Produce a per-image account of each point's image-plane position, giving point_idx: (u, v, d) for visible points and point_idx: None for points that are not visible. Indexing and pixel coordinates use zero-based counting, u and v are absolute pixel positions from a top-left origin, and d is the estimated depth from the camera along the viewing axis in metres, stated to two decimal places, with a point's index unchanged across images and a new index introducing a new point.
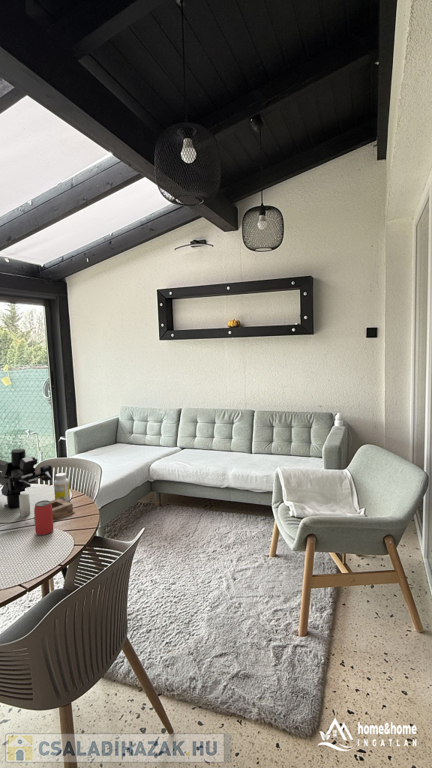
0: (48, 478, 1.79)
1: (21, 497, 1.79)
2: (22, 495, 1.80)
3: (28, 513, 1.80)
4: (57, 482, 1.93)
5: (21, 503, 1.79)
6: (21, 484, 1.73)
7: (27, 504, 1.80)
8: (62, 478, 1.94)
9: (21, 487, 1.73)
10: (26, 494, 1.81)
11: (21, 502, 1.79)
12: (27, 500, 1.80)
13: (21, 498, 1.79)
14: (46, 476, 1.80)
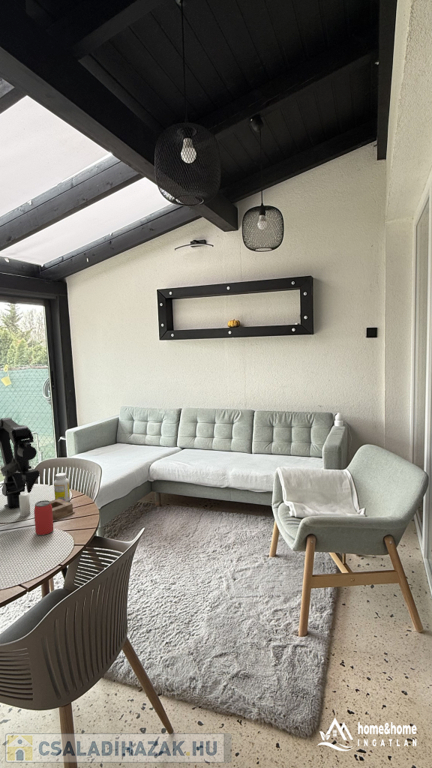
0: None
1: (21, 497, 1.79)
2: (22, 495, 1.80)
3: (28, 513, 1.80)
4: (57, 482, 1.93)
5: (21, 503, 1.79)
6: None
7: (27, 504, 1.80)
8: (62, 478, 1.94)
9: None
10: (26, 494, 1.81)
11: (21, 502, 1.79)
12: (27, 500, 1.80)
13: (21, 498, 1.79)
14: None
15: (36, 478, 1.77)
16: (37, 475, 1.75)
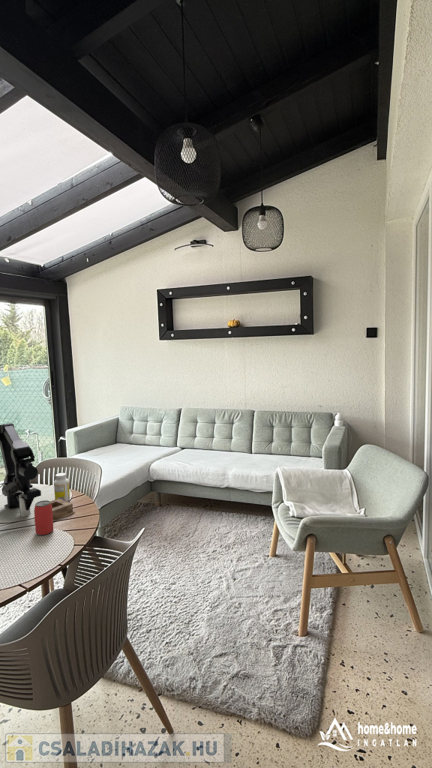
0: None
1: None
2: (22, 495, 1.80)
3: (28, 513, 1.80)
4: (57, 482, 1.93)
5: (21, 503, 1.79)
6: None
7: None
8: (62, 478, 1.94)
9: None
10: None
11: (21, 502, 1.79)
12: None
13: (21, 498, 1.79)
14: None
15: None
16: (38, 494, 1.76)
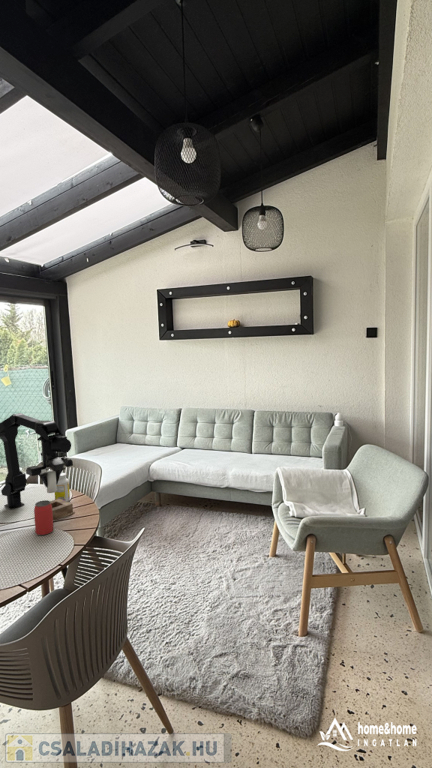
0: None
1: (54, 472, 1.79)
2: (51, 471, 1.79)
3: None
4: None
5: (54, 478, 1.79)
6: (42, 476, 1.77)
7: None
8: (62, 478, 1.94)
9: (41, 477, 1.78)
10: (50, 470, 1.80)
11: (54, 477, 1.79)
12: None
13: (54, 473, 1.79)
14: (56, 475, 1.81)
15: None
16: None
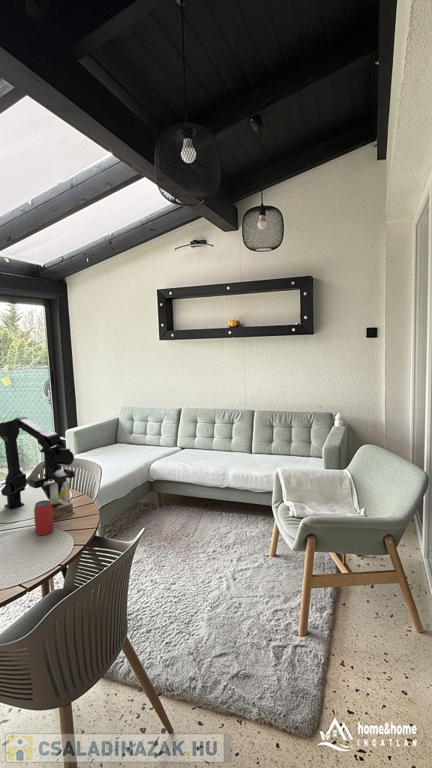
0: None
1: (57, 484, 1.80)
2: (53, 483, 1.80)
3: None
4: None
5: (57, 490, 1.80)
6: (45, 488, 1.78)
7: None
8: None
9: (43, 488, 1.78)
10: (52, 482, 1.81)
11: (57, 489, 1.80)
12: None
13: (57, 485, 1.80)
14: None
15: None
16: None
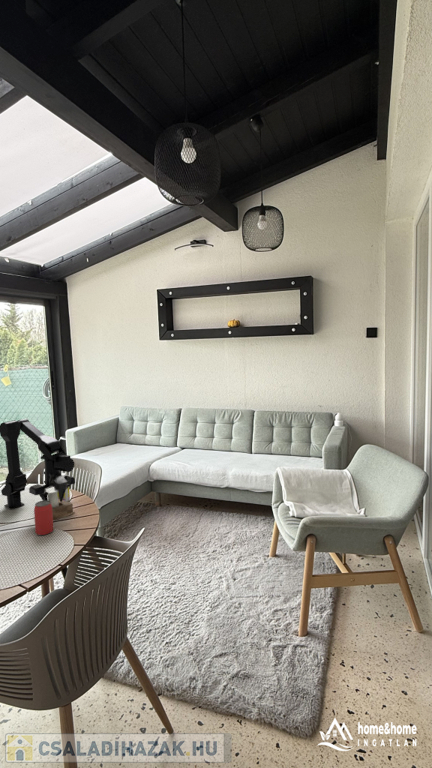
0: (60, 497, 1.83)
1: (56, 493, 1.80)
2: (52, 492, 1.80)
3: None
4: None
5: (56, 499, 1.80)
6: (43, 495, 1.77)
7: None
8: None
9: (41, 496, 1.78)
10: (52, 491, 1.82)
11: (56, 498, 1.80)
12: None
13: (56, 494, 1.80)
14: (60, 493, 1.83)
15: None
16: None
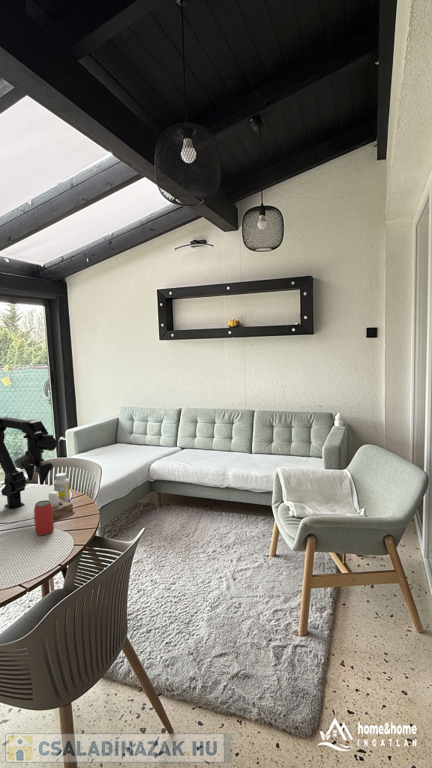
0: None
1: (57, 494, 1.80)
2: (54, 493, 1.80)
3: None
4: (57, 482, 1.93)
5: (57, 500, 1.80)
6: None
7: None
8: (62, 478, 1.94)
9: None
10: (53, 492, 1.81)
11: (57, 499, 1.80)
12: None
13: (57, 495, 1.80)
14: None
15: (49, 470, 1.82)
16: (50, 467, 1.80)
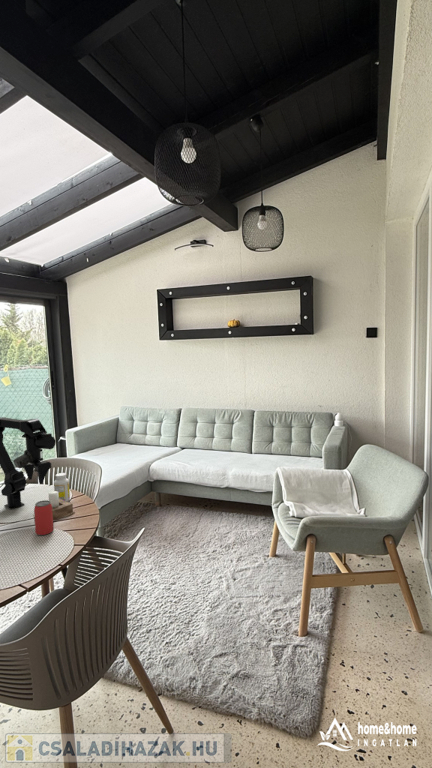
0: None
1: (57, 494, 1.80)
2: (54, 493, 1.80)
3: None
4: (57, 482, 1.93)
5: (57, 500, 1.80)
6: None
7: None
8: (62, 478, 1.94)
9: None
10: (53, 492, 1.81)
11: (57, 499, 1.80)
12: None
13: (57, 495, 1.80)
14: None
15: (48, 469, 1.82)
16: (49, 466, 1.80)
